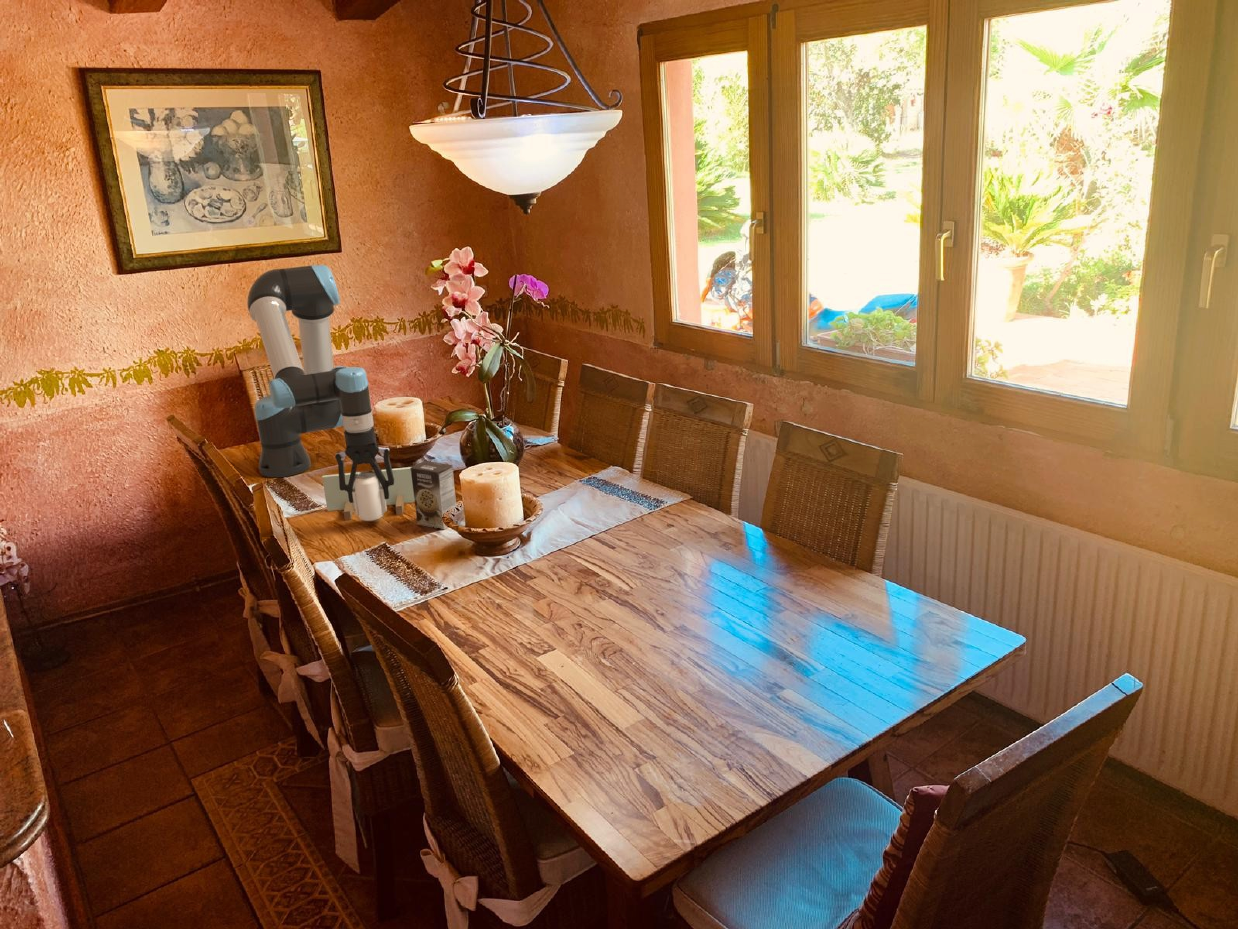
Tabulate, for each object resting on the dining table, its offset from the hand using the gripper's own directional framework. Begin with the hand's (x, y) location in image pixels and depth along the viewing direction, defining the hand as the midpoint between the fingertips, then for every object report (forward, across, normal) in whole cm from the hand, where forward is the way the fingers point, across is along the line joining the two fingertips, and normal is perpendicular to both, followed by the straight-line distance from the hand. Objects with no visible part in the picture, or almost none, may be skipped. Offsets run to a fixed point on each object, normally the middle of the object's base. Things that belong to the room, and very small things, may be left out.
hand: (371, 511), depth 243 cm
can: (+2, 0, 0) cm, 2 cm away
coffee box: (+4, +17, -4) cm, 18 cm away
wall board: (+3, 0, +9) cm, 9 cm away
